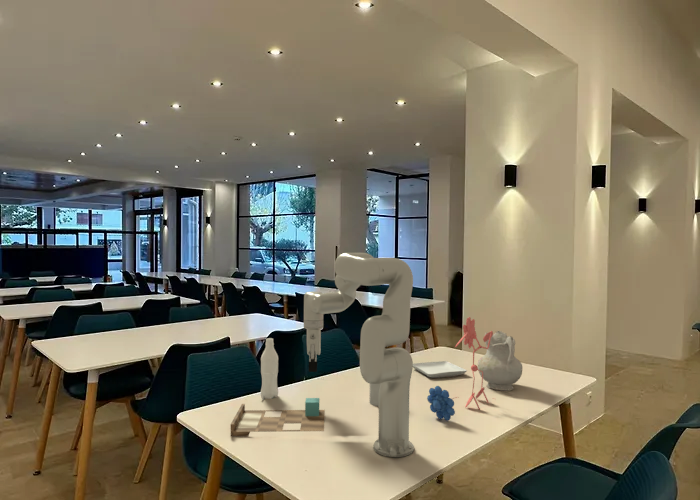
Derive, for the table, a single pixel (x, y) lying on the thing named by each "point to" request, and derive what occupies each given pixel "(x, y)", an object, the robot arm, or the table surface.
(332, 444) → the table surface
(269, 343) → the water bottle
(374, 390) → the cup
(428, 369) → the salad plate
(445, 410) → the grapes
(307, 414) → the block
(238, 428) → the board
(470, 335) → the pink stick figure
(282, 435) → the table surface
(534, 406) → the table surface
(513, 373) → the ceramic pitcher
